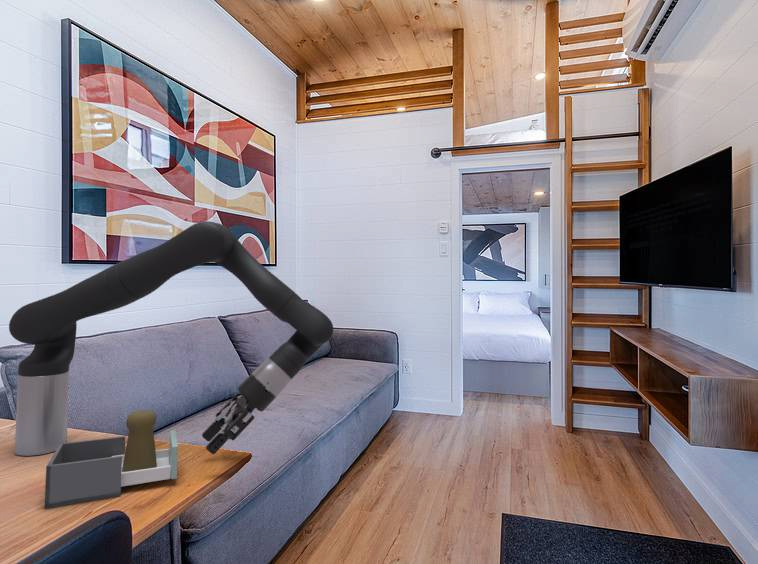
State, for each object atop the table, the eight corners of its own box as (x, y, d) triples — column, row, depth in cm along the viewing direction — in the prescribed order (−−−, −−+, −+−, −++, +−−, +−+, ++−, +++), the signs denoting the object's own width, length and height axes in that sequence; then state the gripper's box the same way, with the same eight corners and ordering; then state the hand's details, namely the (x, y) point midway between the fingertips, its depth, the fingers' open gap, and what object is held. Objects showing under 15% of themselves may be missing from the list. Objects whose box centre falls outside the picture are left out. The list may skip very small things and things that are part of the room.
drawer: (174, 458, 92) (175, 429, 92) (176, 478, 82) (178, 446, 82) (111, 467, 86) (112, 436, 87) (106, 489, 77) (108, 455, 77)
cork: (145, 475, 81) (148, 416, 81) (114, 474, 81) (116, 415, 82) (163, 462, 87) (165, 407, 87) (133, 461, 87) (136, 406, 88)
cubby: (124, 470, 88) (125, 435, 88) (120, 496, 77) (121, 456, 77) (58, 480, 83) (59, 443, 83) (44, 509, 72) (46, 466, 72)
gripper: (246, 367, 101) (190, 423, 95) (260, 379, 88) (196, 444, 82) (268, 388, 103) (215, 444, 97) (285, 402, 90) (225, 468, 84)
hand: (207, 444), depth 90 cm, fingers open, 7 cm apart
